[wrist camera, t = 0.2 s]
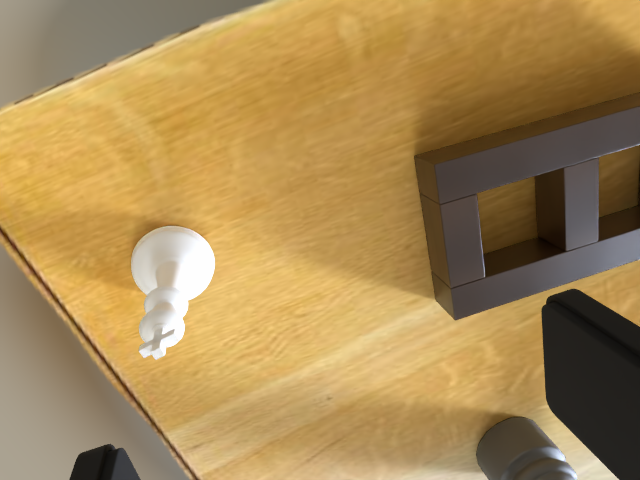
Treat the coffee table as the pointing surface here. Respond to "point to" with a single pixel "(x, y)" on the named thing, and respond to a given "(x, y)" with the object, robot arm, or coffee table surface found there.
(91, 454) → the robot arm
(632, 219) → the socket block
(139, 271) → the chess piece
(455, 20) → the coffee table surface
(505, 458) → the candle holder
